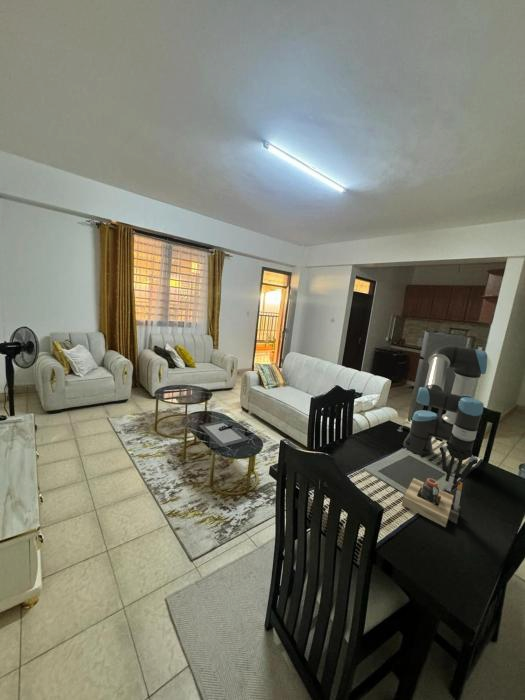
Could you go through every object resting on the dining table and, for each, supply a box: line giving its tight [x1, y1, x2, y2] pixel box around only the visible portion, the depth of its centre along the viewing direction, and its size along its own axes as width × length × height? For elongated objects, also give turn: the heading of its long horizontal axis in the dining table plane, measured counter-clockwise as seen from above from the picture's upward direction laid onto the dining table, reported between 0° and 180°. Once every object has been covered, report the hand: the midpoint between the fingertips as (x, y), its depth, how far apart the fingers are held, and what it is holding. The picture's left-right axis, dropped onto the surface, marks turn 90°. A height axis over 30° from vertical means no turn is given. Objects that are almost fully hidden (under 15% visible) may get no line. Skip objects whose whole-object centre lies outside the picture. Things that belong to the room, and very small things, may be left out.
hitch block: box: [401, 477, 461, 528], centre depth 119 cm, size 18×19×4 cm
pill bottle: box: [419, 477, 439, 505], centre depth 119 cm, size 6×6×11 cm
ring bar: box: [453, 480, 463, 513], centre depth 113 cm, size 4×1×14 cm, turn 140°
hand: (448, 489), depth 114 cm, fingers closed
